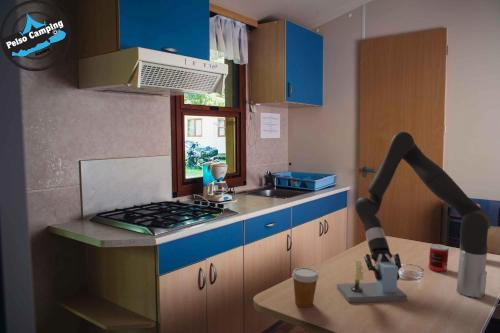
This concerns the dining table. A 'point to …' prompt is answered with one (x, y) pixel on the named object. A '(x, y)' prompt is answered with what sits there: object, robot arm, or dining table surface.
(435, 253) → the canned food
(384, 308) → the dining table surface
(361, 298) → the plate
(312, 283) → the disposable coffee cup
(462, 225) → the robot arm
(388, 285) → the light blue block
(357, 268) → the golden lever handle
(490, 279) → the dining table surface
